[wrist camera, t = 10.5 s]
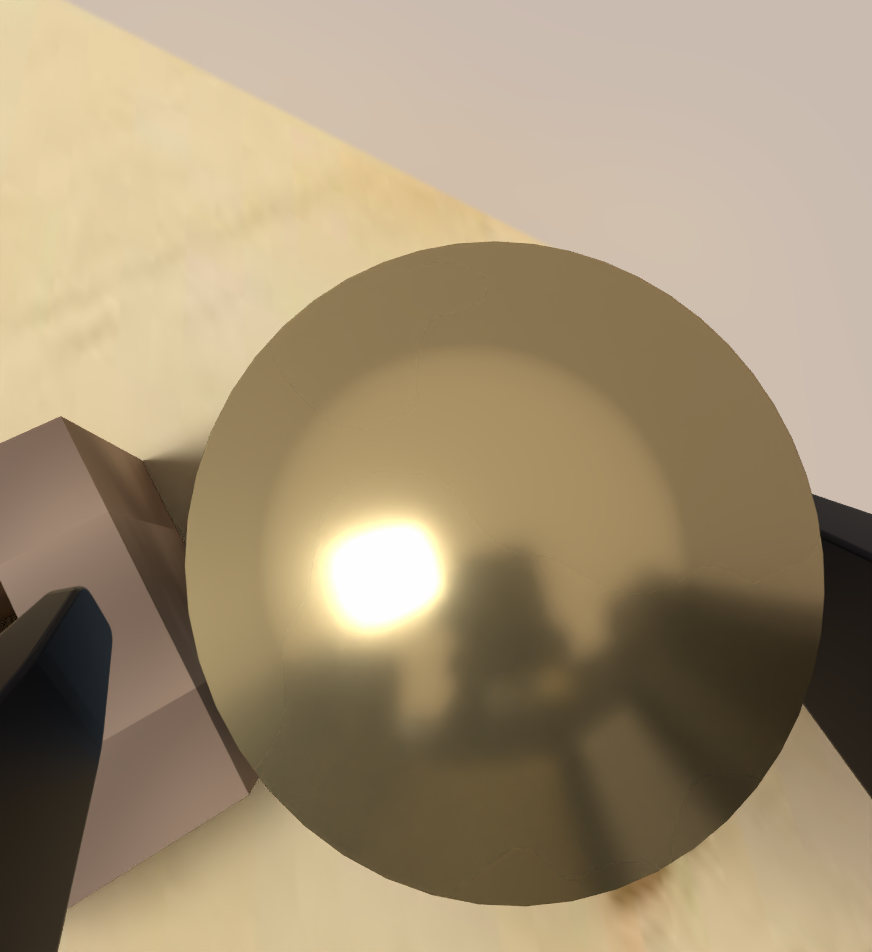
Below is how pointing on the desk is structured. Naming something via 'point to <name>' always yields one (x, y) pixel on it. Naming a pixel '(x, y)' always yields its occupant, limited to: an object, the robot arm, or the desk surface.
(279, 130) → the desk surface
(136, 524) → the hitch block
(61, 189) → the desk surface
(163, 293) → the desk surface
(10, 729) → the robot arm
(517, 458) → the pin
